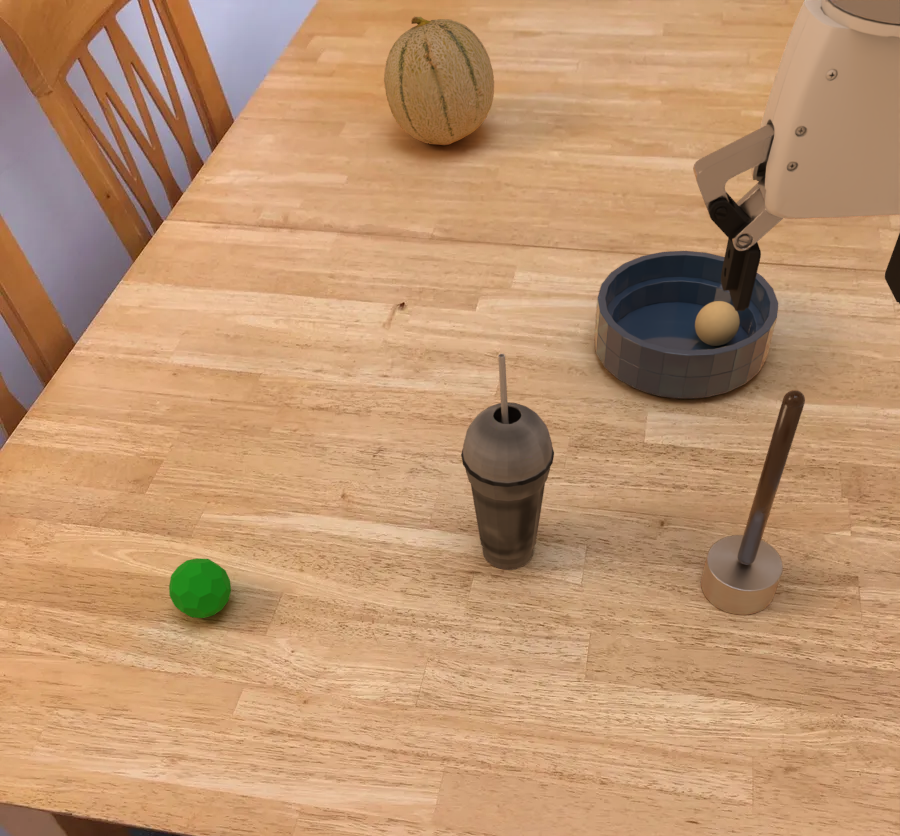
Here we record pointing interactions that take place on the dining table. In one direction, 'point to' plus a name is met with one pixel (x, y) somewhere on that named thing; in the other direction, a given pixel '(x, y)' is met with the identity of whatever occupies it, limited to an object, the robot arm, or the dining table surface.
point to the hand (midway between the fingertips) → (816, 294)
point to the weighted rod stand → (754, 532)
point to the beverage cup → (507, 477)
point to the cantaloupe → (439, 81)
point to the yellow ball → (717, 323)
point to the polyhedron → (199, 588)
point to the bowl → (678, 326)
